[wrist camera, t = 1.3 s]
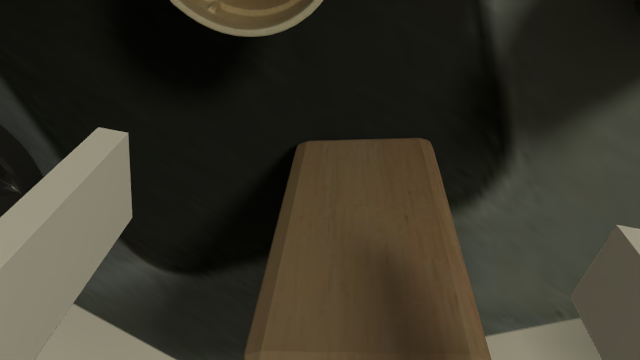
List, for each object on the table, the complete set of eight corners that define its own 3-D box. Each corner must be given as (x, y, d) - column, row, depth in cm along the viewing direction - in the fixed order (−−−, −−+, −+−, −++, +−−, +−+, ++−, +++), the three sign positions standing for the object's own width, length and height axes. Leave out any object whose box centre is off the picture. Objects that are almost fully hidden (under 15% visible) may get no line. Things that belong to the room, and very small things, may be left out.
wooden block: (426, 240, 39) (475, 513, 22) (306, 241, 40) (265, 502, 23) (432, 131, 34) (504, 378, 17) (294, 135, 35) (230, 372, 18)
